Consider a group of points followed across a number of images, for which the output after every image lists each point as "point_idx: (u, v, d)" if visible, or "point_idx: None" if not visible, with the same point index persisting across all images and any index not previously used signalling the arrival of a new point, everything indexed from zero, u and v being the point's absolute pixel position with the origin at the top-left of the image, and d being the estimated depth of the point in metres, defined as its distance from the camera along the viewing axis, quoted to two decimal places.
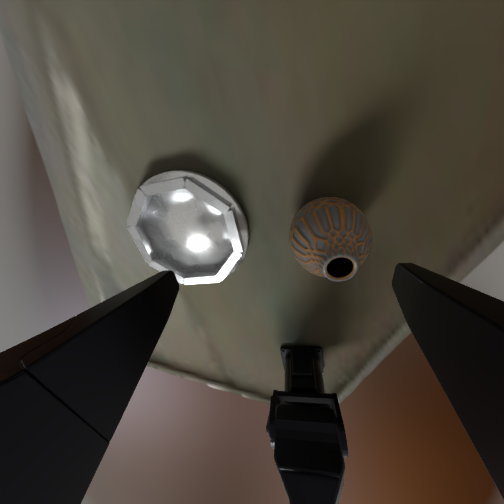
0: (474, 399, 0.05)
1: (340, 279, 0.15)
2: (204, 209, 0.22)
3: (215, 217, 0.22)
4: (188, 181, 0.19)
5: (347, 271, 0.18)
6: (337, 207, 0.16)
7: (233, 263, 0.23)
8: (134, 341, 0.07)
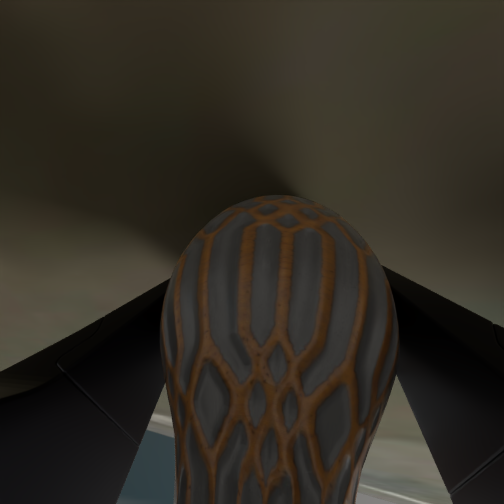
0: (424, 395, 0.05)
1: None
2: None
3: None
4: None
5: None
6: None
7: None
8: None
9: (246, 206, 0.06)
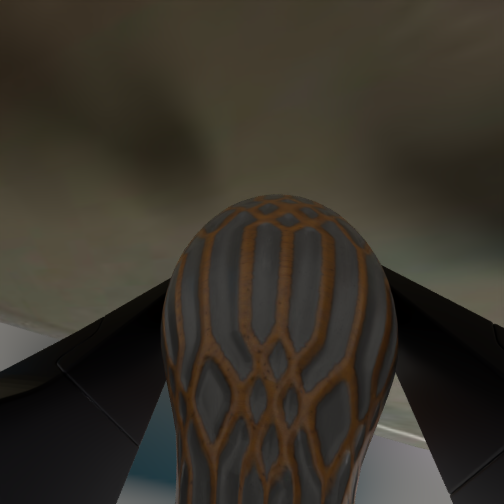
0: (424, 395, 0.05)
1: None
2: None
3: None
4: None
5: None
6: None
7: None
8: None
9: (246, 205, 0.06)
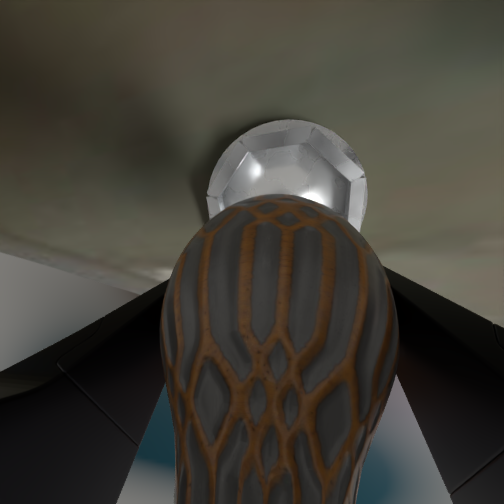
0: (424, 395, 0.05)
1: None
2: (248, 182, 0.17)
3: (259, 168, 0.17)
4: (209, 191, 0.17)
5: None
6: None
7: (331, 145, 0.14)
8: None
9: (246, 204, 0.06)
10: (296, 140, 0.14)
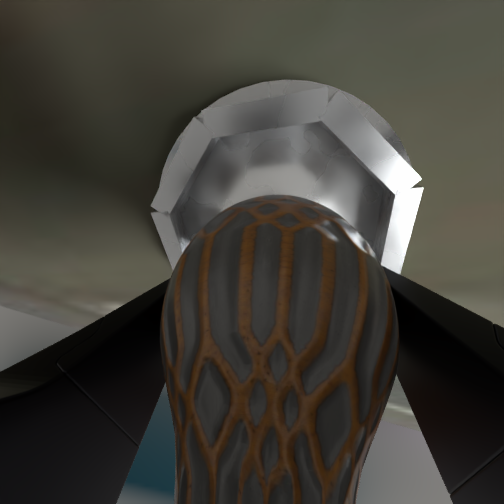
0: (424, 395, 0.05)
1: None
2: (220, 189, 0.11)
3: (237, 168, 0.10)
4: (155, 204, 0.10)
5: None
6: None
7: (365, 127, 0.08)
8: None
9: (246, 205, 0.06)
10: (300, 116, 0.08)
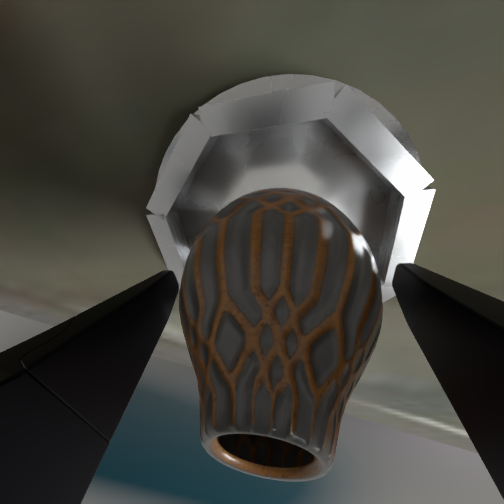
0: (474, 399, 0.05)
1: (320, 463, 0.03)
2: (219, 191, 0.10)
3: (237, 168, 0.10)
4: (151, 206, 0.10)
5: None
6: None
7: (373, 125, 0.07)
8: (134, 341, 0.07)
9: (254, 196, 0.06)
10: (304, 113, 0.07)
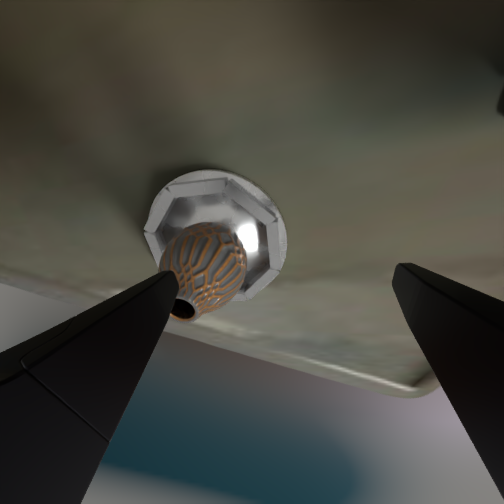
0: (474, 399, 0.05)
1: (195, 309, 0.13)
2: (183, 219, 0.19)
3: (190, 209, 0.19)
4: (146, 228, 0.19)
5: (229, 262, 0.14)
6: None
7: (244, 196, 0.16)
8: (134, 341, 0.07)
9: (189, 228, 0.16)
10: (214, 190, 0.16)
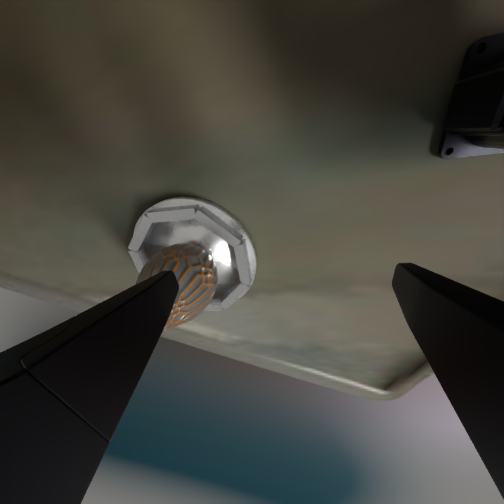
0: (474, 399, 0.05)
1: None
2: (163, 239, 0.22)
3: (169, 230, 0.21)
4: (130, 247, 0.21)
5: (195, 283, 0.17)
6: None
7: (212, 222, 0.18)
8: (134, 341, 0.07)
9: (163, 251, 0.18)
10: (186, 217, 0.19)
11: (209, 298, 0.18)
